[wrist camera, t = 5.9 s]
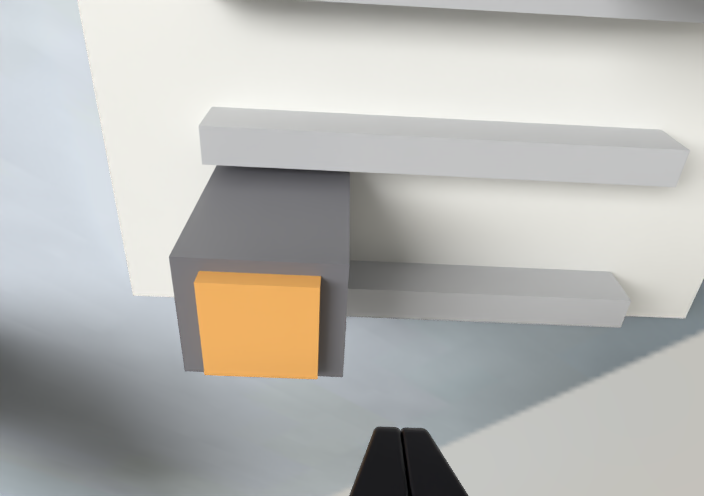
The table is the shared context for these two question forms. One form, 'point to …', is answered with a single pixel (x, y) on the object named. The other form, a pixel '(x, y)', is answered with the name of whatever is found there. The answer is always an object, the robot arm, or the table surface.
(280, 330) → the block
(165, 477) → the table surface
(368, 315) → the breaker board
